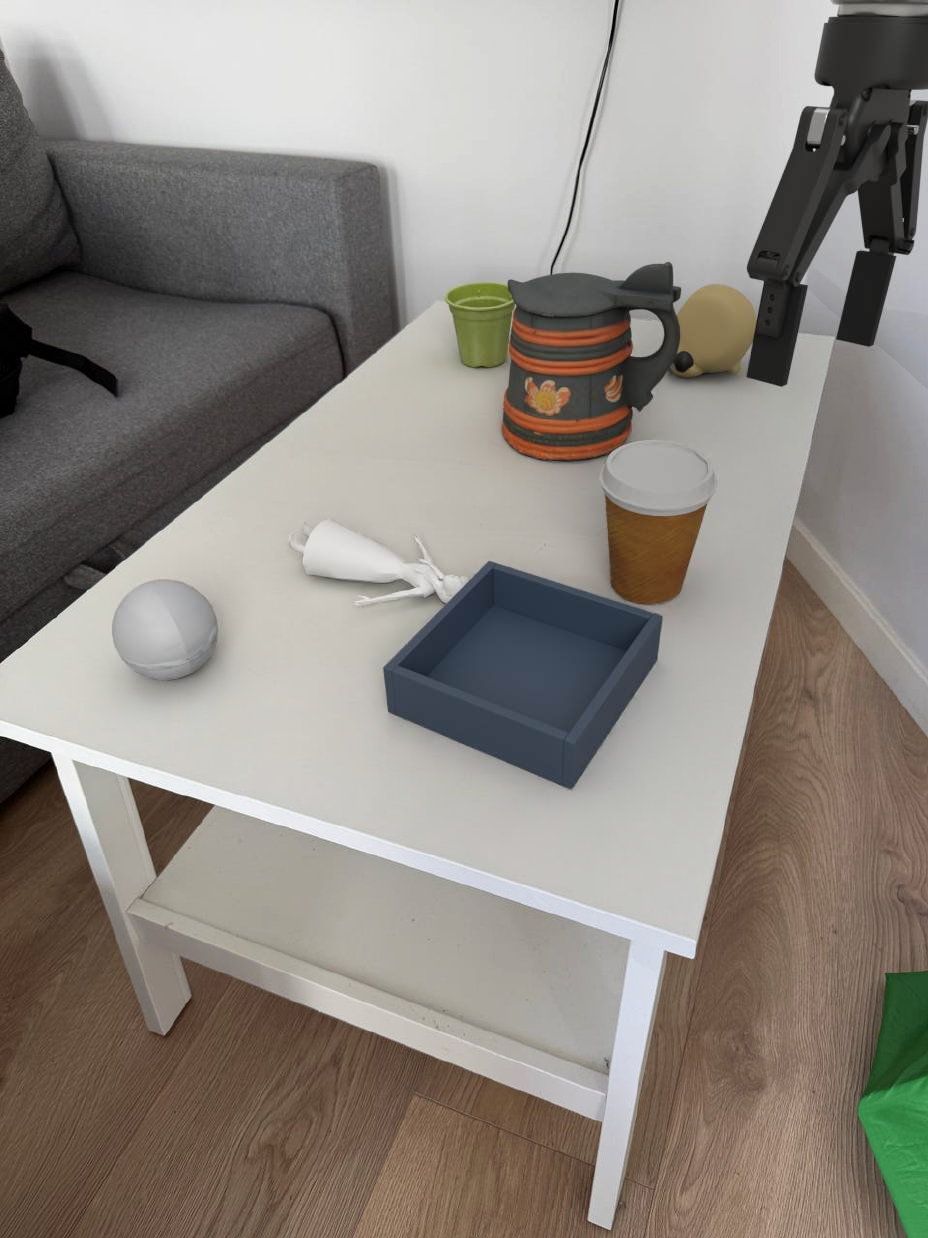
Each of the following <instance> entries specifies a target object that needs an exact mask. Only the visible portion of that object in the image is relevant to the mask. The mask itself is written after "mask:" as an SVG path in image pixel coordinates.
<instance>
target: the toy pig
mask: <svg viewBox="0 0 928 1238" xmlns="http://www.w3.org/2000/svg"><path fill="white" fill-rule="evenodd" d="M676 315H677V318H678V322H679V325H680V343H679V348H678V352H677V354H676V357H675V359H674V361H673V363H672V365H671V367H670V368H669V371H671V372H672V373H674V375H676V376H678V377H681V378H685V379H686V378H687V379H689V378H695V377H697V376H700V375H702V374H703V373H707V374H717V373H722V372H725V371H729V373H732V374H737V373H739V372H740V371H741V369H742V363H741V362H742V359H743V358H744V356H746V354H747V353H748V351H749V350H750V348H751V347H752V343H753V338H754V332H755V327H756V322H757V313H756V310H755V308H754V305H753V304H752V302H751V301H750V299H749V298H748V297H747V296H746V295H745V294H744V293H743V292H741V291H740V290H738V289H736V288H734V287H731V286H729V285H726V284H720V283H711V284H708V285H703V286H701V287H699V289H697V290H695V291H694V292H693V293H692V294H691V295H690V296H689V297H688V298H687V299H686V301H685V302H684V303H683V305H682V306H681V308H680V309H679V311H678V313H676Z"/></svg>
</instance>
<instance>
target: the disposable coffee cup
mask: <svg viewBox="0 0 928 1238" xmlns="http://www.w3.org/2000/svg"><path fill="white" fill-rule="evenodd" d="M714 469H715V468H714V464H713V462H712V460H711V458H710V457H709V456H708V455H707V454H705V453H704V452H702V451H701V450H699V449H697V448H695V447H694V446H691V445H688V444H686V443H682V442H678V441H672V440H664V439H646V440H644V439H643V440H636V441H631V442H629V443H626V444H622V445H621V446H620V447H619V448H617V449H615V450H614V451H612V452H610V453H609V455H608V456H607V459H606V462H605V464H604V465H603V466H602V467H601V469H600V471H599V477H598V478H599V483H600V486H601V488H602V491H603V494H604V501H605V515H606V528H607V529H606V530H607V542H608V543H607V545H608V558H609V562H608V563H609V574H610V585H611V587H612V590H613V591H614V592H615V593H616V594H617V595H618V596H620V598H621V597H622V598H623V599H625V600H626V601H629V602H632V603H637V604H643V605H657V604H663V603H667V602H670V601H672V600H674V599H675V598H676V597H678V596H679V595H680V593H681V591H682V589H683V585H684V582H685V579H686V576H687V572H688V570H689V569H688V568H689V566H690V562H691V558H692V555H693V552H694V550H695V547H696V542H697V539H698V536H699V534H700V529H701V528H702V527H701V525H702V524H703V521H704V515H705V513H706V509H707V506H708V503H709V502H710V501H711V498H712V497H713V496H714V495H715V493H716V491H717V488H718V478H717V475H716V474H715V470H714Z"/></svg>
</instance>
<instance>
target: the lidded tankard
mask: <svg viewBox="0 0 928 1238" xmlns="http://www.w3.org/2000/svg"><path fill="white" fill-rule="evenodd" d="M507 285H508V291H509V292H510V293H511V295H512V299H513V301H514V303H515V308H514V310H513V312H512V320H511V327H510V334H509V343H508V356H509V357H510V365H509V374H508V384H507V385H508V386H507V388H506V390H505V392H504V395H503V402H502V406H503V407H502V411H503V412H502V423H501V432H502V435H503V437H504V439H505V441H506V442H507V443H508V444H509V445H510V446H511V447H512V448H513V449H515V450H516V451H518V452H519V453H520V454H524V455H526V457H527V456H528V457H529V458H534V459H537V460H540V461H549V462H552V461H577V460H588V459H594V458H598V457H601V456H605V455H607V454H610V453H612V452H613V451H614V450H615V449H617V448H619V447H620V446H623V445H624V443H625V442H626V440H627V439H628V438H629V435H631V432H632V427H633V425H632V421H633V417H634V411H633V408H634V409H636V410H637V411H638V412H639V413H641V412H642V411H643V409H644V408H645V407H646V406H648V405H649V403H651V402H652V401H653V399H654V394H653V393H652V391H653V390H654V389H655V388H656V386H657V385H658V384H659V383H660V382H661V381H662V379H663V378H665V375H666V374H667V373H668V372H669V371H670V369H669V368H670V367H671V365H672V363H673V361H674V359H675V357H676V354H677V352H678V348H679V343H680V325H679V322H678V318H677V313H676V310H675V307H674V303H676V302H678V301H679V300H680V299H681V296H682V287H681V286H676V285H674V266H673V264H672V263H671V262H670V261H666V262H664V263H651V264H650V263H649V264H646V265H643V266H641V267H639V268H637V269H636V270H634V271H633V272H632V273H631V274H629V276H627V277H626V279H625V280H622V279H620V280H617V279H616V280H615V279H614V280H612V279H610V278H607V277H604V276H600V275H596V274H592V273H585V272H560V273H559V272H558V273H553V274H547V275H543V276H539V277H534V278H532V279H530V280H526V281H524V282H522V281H518V280H515V279H508V280H507ZM637 310H642V311H643V310H644V311H648V312H650V313H652V314H654V315H655V316H656V317H657V318H658V319H659V321H660V323H661V325H662V329H663V339H662V343H661V345H660V347H659V348H658V349H657V350H656V351H655V352H653V353H652V354H649V355H645V356H633V355H632V354H633V350H634V342H633V339H632V336H633V334H632V333H633V332H632V327H631V324H632V316H631V313H630V312H631V311H637Z"/></svg>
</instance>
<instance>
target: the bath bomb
mask: <svg viewBox="0 0 928 1238" xmlns="http://www.w3.org/2000/svg"><path fill="white" fill-rule="evenodd" d="M218 626H219V625H218V618H217V616H216V612H215V610H214V608H213V606H212V604H211V603H210V601H209V600H208V598H206V596H205V595H204V594H203V593H202V592H200V591H199V590H198V589H197V588H195V587H194V586H192V585H190V584H187V582H186V583H185V582H184V581H181V580H176V579H166V578H165V579H164V578H163V579H162V578H161V579H154V580H150V581H147V582H144V583H142V584H139V585H138V586H137V587H135V588H133V589H132V590H131V591H129V592H128V593H127V594H126V595H125V596H124V597H123V598H122V600H121V601H120V603H119V604H118V605H117V607H116V609H115V611H114V614H113V618H112V624H111V635H112V636H111V637H112V640H113V645H114V648H115V649H116V652H117V654H118V656H119V657H120V659H121V661H123V662H124V664H126V666H127V667H128V668H130V670H133V671H134V672H135V673H137V674H139V675H141V676H143V677H146V678H150V679H153V680H158V681H170V680H176V679H180V678H183V677H186V676H189V675H190V674H192V673H194V672H196V671H197V670H199V669H200V668H201V667H202V666H203V665H204V664H205V663H206V662H207V661H208V660H209V658H210V656H211V655H212V653H213V651H214V649H215V647H216V643H217V641H218V632H219V627H218Z"/></svg>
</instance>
